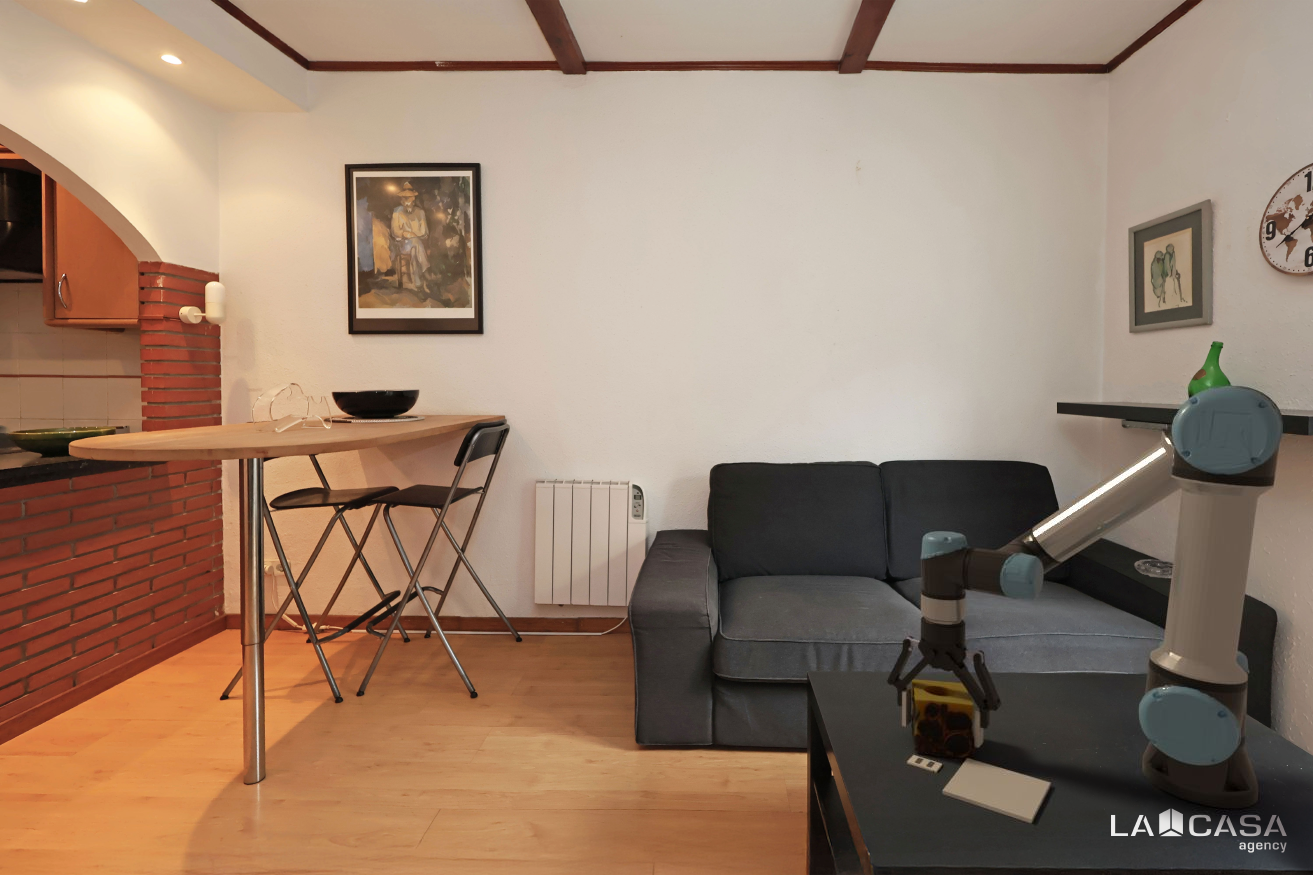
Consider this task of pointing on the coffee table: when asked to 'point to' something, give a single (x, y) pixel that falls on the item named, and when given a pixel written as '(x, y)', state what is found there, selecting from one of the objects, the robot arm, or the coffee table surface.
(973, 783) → the coaster
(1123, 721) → the coffee table surface
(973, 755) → the candle
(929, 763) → the tag
